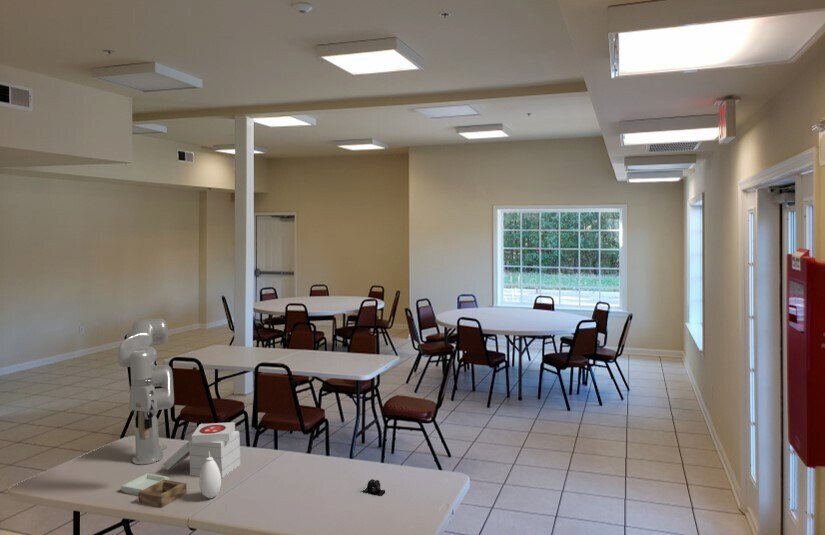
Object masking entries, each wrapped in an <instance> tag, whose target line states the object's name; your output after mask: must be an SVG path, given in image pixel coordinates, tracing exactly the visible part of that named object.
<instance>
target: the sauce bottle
mask: <svg viewBox="0 0 825 535" xmlns="http://www.w3.org/2000/svg"><path fill="white" fill-rule="evenodd" d="M198 482H199V488H200V492H201V493H202V495H203V496H204V497H206V498H208V499H212V498H214V497H216V495H219V492H220V490H221V487H222V478H221V474H220V470H219V468H218V466H217V464H216V462H215V461H214V460H213V457H210V451H209V457H208V458H206V461H205V463H204V464H203V466H202V469H201V473H200V476H199V481H198Z"/></svg>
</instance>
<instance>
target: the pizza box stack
mask: <svg viewBox="0 0 825 535" xmlns="http://www.w3.org/2000/svg"><path fill="white" fill-rule="evenodd" d="M240 441H241V439H240V430H236V422H235V421H233V422H232V421H231V422H217V423H215V422H214V423H213V422H212V423H200V424H199V425H198V426H197V428H196V429H195V431H194V432H193V433H192V434H191V439H190V440H188V442H186V443H185V444H183V446H181V447H180V448H179V449H178V450H177V451H176V452H175V453H173V455H172V456H170V457H169V458H168V459H166V461H164V462H163V463H162V466H163V467H164V468H165V469H166V470H167V471H168V470H170V469H172V468H173V467H174V466H176V465H178V464H180V463H181V462H183V461H184V460H186V459H187V458H189V475H197V476H196V477H200V473H201V469H202V466H203V464H204V463H205V461H206V458H208V457H209V451H210V457H213V460H214V461H215V462H216V464H217V466H218V468H219V470H220V474H221V479H223V478H225V477H226V476H227V475H229V474H230V473H231V472H232V471H234V470H235V469H237V468H238V467H239V466H241V444H240V443H241V442H240ZM237 466H238V467H237ZM233 469H234V470H233ZM230 471H231V472H230ZM229 472H230V473H229ZM226 474H227V475H226ZM225 475H226V476H225Z"/></svg>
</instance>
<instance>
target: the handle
mask: <svg viewBox="0 0 825 535" xmlns="http://www.w3.org/2000/svg"><path fill="white" fill-rule="evenodd" d="M137 405H138V406H137ZM136 407H138V408H140V407H141V405H140V404H137V403H136ZM145 419H146V418H145V413H144V412H142V411H138V428H139V435H140V439H141V440H146V439H148V438H149V435H148V434H149V429H145V423H144V420H145Z"/></svg>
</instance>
